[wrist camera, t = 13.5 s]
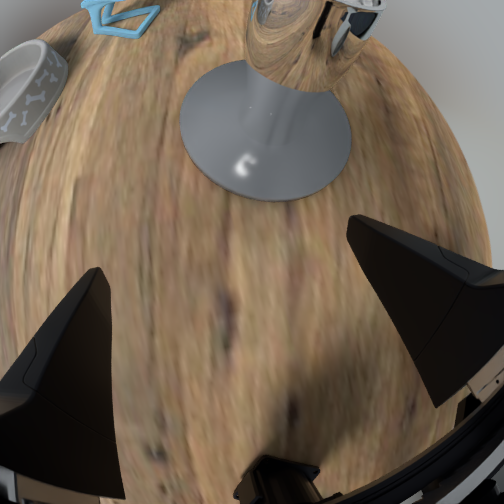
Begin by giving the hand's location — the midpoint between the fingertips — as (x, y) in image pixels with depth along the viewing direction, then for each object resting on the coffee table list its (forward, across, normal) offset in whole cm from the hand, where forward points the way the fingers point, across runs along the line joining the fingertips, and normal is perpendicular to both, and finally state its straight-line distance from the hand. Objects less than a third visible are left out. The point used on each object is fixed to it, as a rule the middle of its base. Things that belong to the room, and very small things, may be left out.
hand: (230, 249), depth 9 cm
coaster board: (+17, -7, -1) cm, 19 cm away
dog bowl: (+27, +23, -10) cm, 37 cm away
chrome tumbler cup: (+16, -7, -1) cm, 18 cm away
